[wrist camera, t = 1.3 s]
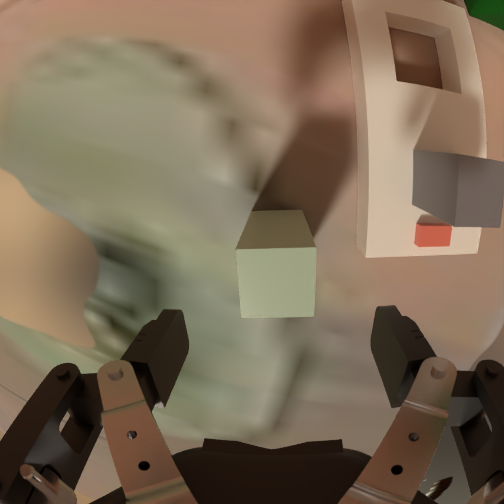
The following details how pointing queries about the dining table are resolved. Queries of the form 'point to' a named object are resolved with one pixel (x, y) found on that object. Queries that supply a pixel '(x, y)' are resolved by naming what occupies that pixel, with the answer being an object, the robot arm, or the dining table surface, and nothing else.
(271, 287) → the green plug
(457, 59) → the white plate with window
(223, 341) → the dining table surface
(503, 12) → the milk carton
